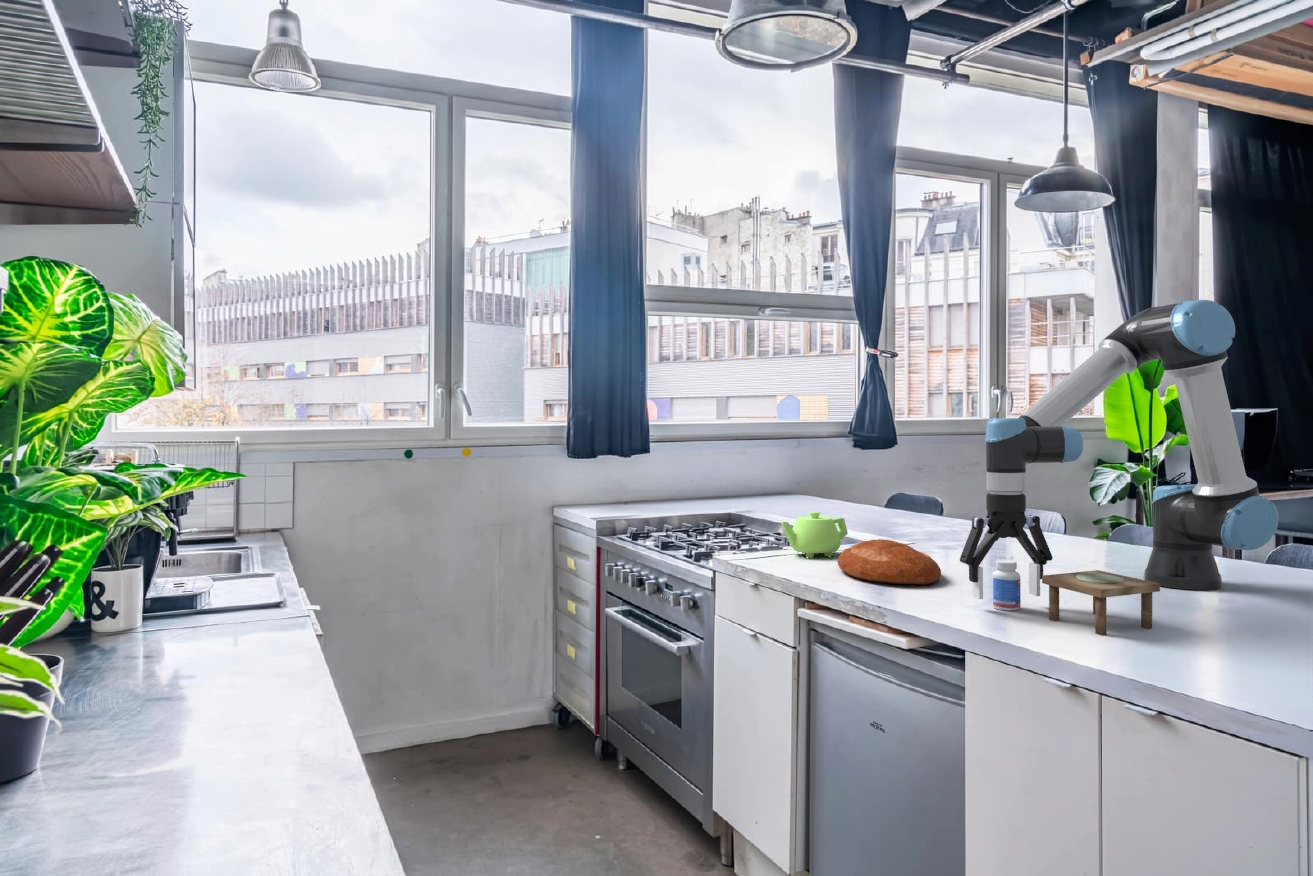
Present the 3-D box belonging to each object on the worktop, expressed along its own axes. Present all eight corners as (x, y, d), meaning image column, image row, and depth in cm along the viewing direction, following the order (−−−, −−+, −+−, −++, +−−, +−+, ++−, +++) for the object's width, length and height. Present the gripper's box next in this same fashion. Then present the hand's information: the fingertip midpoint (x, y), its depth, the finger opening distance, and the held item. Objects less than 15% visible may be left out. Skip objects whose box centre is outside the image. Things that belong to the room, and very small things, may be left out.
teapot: (790, 561, 228) (790, 516, 228) (773, 553, 241) (773, 510, 241) (857, 557, 232) (856, 513, 232) (836, 549, 245) (836, 508, 245)
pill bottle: (1023, 611, 167) (1023, 564, 166) (995, 611, 168) (995, 563, 167) (1017, 605, 172) (1017, 559, 172) (990, 604, 173) (989, 559, 173)
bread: (889, 562, 225) (889, 530, 225) (967, 584, 195) (967, 547, 194) (816, 568, 218) (816, 535, 218) (885, 592, 188) (885, 554, 187)
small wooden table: (1097, 612, 165) (1097, 568, 165) (1160, 628, 152) (1159, 581, 152) (1042, 618, 161) (1042, 574, 161) (1101, 636, 148) (1101, 588, 147)
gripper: (1048, 489, 175) (1048, 589, 175) (941, 492, 171) (942, 595, 172) (1071, 492, 167) (1071, 597, 168) (960, 496, 164) (960, 603, 164)
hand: (1006, 596), depth 170 cm, fingers open, 12 cm apart
